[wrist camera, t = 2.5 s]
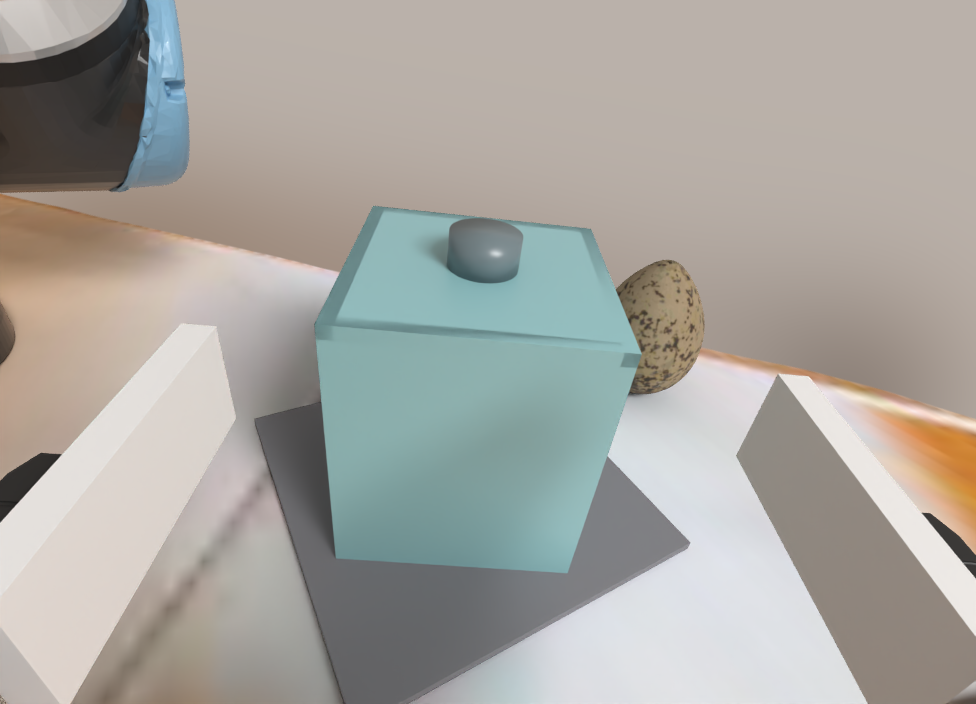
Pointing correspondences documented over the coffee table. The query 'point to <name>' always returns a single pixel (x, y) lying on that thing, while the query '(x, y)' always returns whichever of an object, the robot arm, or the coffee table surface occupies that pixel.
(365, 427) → the teal box with knob
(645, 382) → the decorative egg
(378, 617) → the mat
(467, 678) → the coffee table surface
